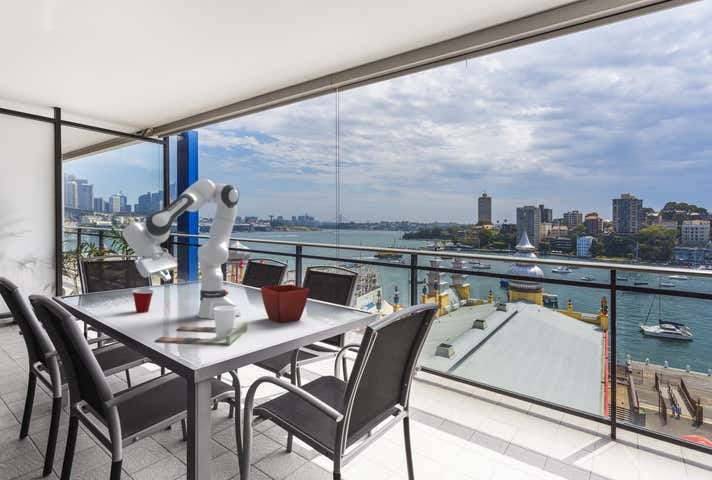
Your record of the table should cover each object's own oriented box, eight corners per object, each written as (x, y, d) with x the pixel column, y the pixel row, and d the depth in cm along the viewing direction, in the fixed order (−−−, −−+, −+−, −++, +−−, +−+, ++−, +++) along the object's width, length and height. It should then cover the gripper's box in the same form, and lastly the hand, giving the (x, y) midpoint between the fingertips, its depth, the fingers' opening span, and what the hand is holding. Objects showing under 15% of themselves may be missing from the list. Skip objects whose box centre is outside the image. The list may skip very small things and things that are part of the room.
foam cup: (218, 334, 170) (219, 305, 170) (238, 335, 170) (239, 306, 169) (209, 340, 161) (210, 310, 160) (230, 341, 160) (231, 311, 160)
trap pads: (181, 341, 155) (181, 340, 155) (204, 327, 177) (204, 326, 177) (195, 341, 155) (195, 341, 155) (216, 327, 177) (216, 327, 177)
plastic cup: (147, 314, 202) (147, 292, 202) (127, 313, 202) (127, 291, 202) (157, 309, 213) (158, 288, 212) (139, 309, 213) (139, 288, 213)
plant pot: (277, 325, 188) (277, 292, 187) (259, 318, 202) (260, 286, 201) (308, 320, 200) (309, 289, 200) (290, 313, 215) (290, 284, 214)
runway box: (154, 342, 156) (155, 332, 155) (181, 328, 178) (181, 319, 177) (229, 345, 155) (230, 335, 154) (247, 330, 177) (247, 322, 176)
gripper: (137, 254, 156) (157, 280, 156) (169, 248, 177) (186, 271, 176) (127, 263, 158) (146, 289, 157) (160, 256, 178) (177, 279, 177)
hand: (168, 280), depth 167 cm, fingers closed
